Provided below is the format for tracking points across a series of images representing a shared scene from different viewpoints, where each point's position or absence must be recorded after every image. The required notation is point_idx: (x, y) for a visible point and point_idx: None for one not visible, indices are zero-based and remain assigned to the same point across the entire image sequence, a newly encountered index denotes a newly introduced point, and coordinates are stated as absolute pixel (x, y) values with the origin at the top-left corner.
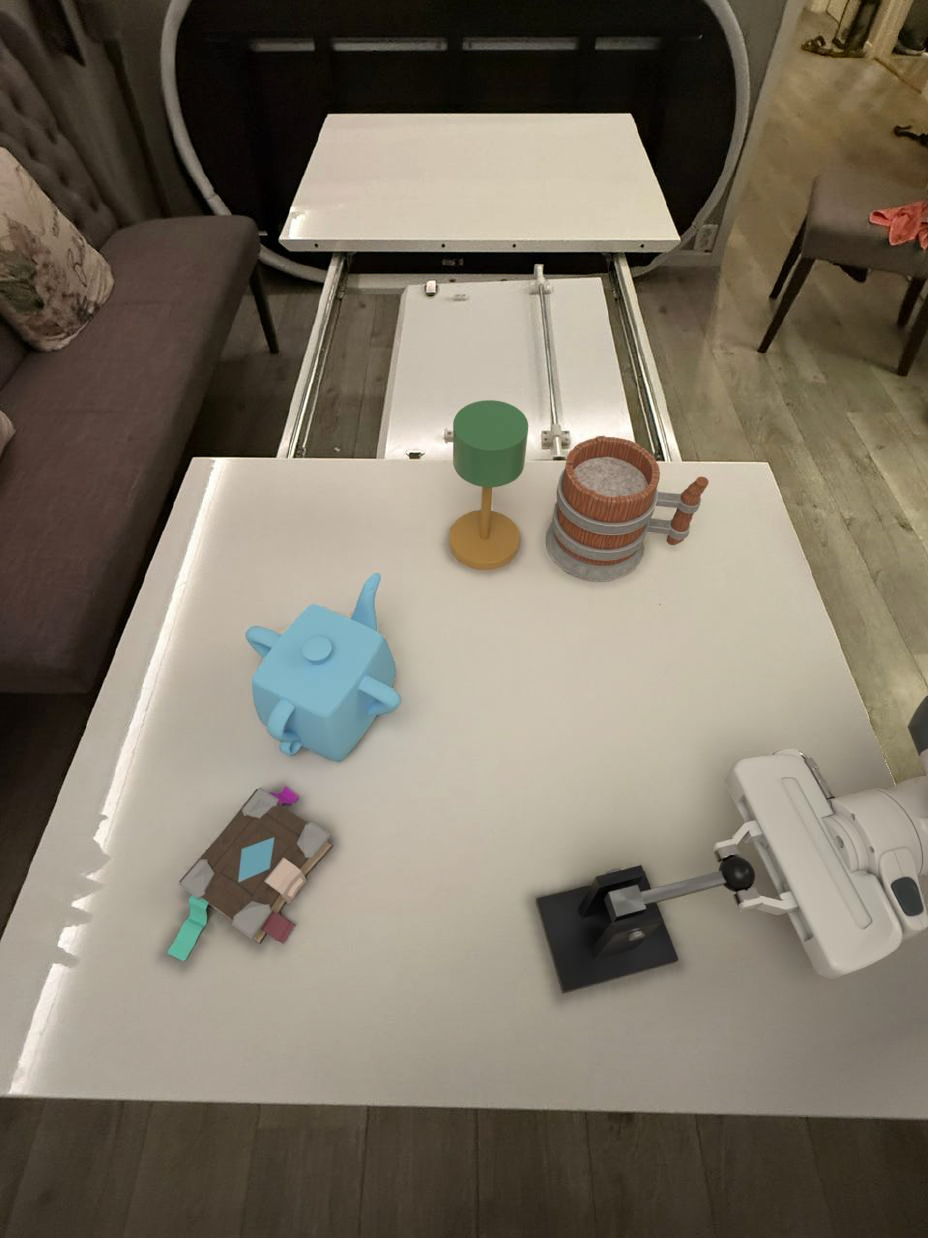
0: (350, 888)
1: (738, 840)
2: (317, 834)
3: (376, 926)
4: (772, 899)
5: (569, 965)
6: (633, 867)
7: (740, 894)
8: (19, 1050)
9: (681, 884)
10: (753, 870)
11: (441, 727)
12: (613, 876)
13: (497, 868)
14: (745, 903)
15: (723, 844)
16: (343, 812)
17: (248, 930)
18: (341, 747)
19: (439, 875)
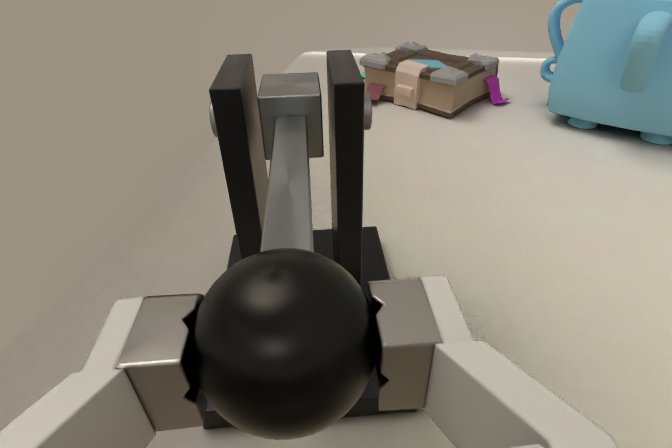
0: (406, 126)
1: (465, 361)
2: (454, 74)
3: (366, 136)
4: (49, 427)
5: None
6: (360, 75)
7: (182, 294)
8: (320, 51)
9: (298, 167)
10: (261, 360)
11: (649, 184)
12: (345, 59)
13: (428, 212)
14: (133, 297)
15: (437, 291)
16: (489, 124)
17: (366, 56)
18: (561, 75)
19: (419, 171)
